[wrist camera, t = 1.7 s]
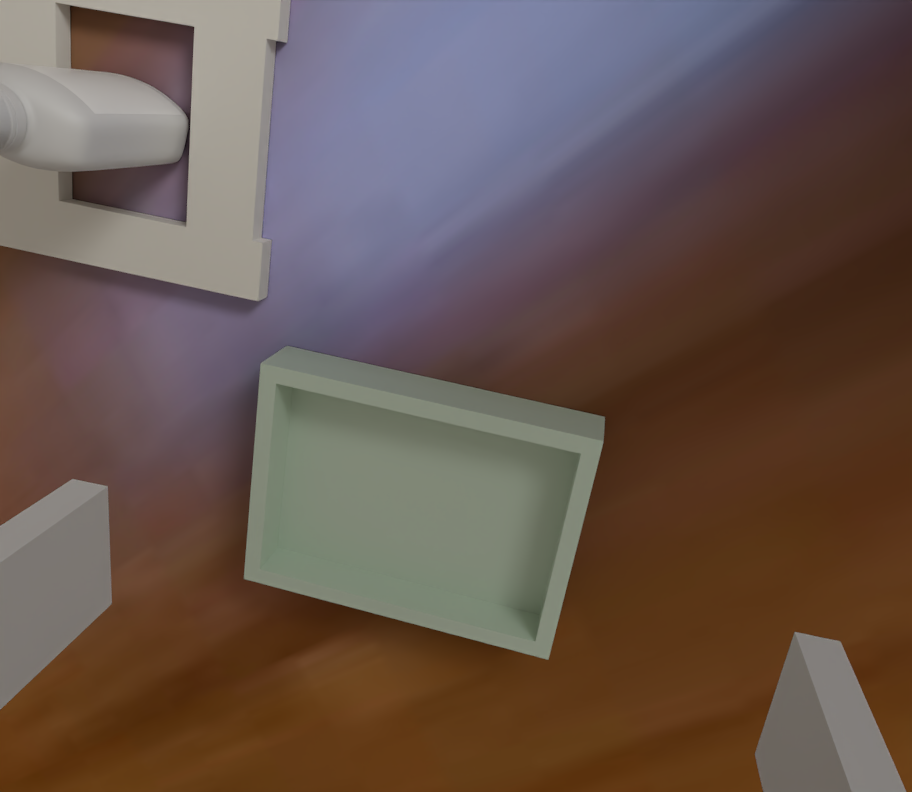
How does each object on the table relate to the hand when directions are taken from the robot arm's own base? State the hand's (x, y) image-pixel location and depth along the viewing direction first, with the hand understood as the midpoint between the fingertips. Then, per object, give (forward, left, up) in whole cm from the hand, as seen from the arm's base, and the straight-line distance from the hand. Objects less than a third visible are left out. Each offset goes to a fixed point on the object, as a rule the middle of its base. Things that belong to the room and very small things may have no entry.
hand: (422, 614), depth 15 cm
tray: (+9, -4, -22) cm, 25 cm away
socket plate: (-6, -20, -22) cm, 31 cm away
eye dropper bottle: (-6, -20, -23) cm, 31 cm away
